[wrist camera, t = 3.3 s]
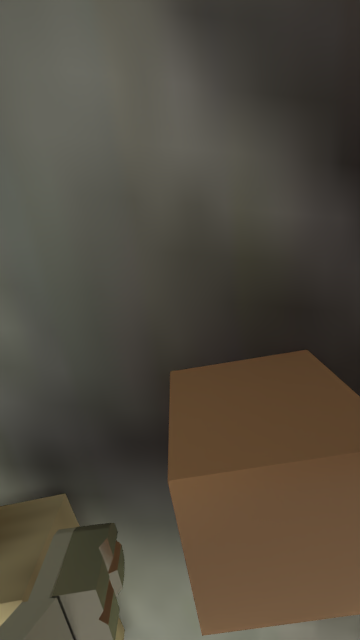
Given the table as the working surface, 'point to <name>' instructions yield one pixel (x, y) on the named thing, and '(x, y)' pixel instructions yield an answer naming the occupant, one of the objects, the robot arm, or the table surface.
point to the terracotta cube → (266, 490)
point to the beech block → (30, 547)
